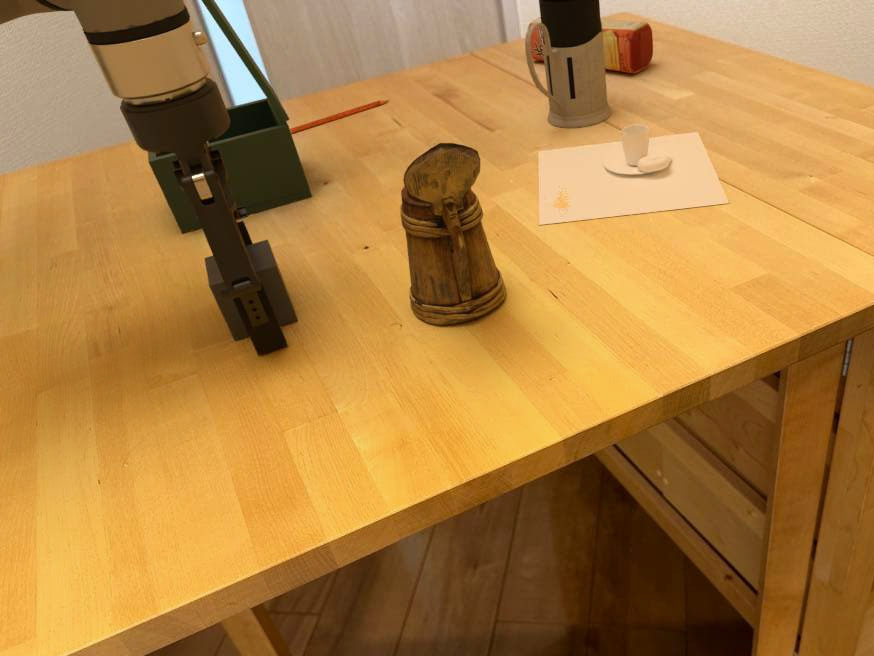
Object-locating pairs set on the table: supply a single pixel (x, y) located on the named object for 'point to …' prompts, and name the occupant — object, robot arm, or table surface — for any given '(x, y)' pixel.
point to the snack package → (614, 44)
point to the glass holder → (572, 62)
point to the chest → (244, 164)
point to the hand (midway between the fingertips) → (262, 314)
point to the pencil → (337, 116)
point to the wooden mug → (448, 238)
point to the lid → (245, 57)
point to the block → (271, 282)
